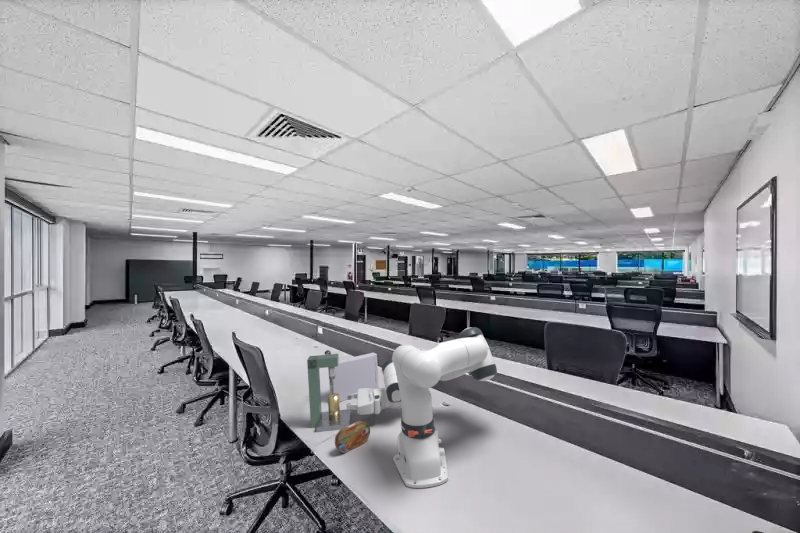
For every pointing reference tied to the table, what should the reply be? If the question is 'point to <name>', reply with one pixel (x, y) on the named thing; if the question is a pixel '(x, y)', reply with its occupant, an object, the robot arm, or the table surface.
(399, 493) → the table surface
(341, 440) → the tin
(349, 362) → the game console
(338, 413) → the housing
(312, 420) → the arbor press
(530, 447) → the table surface
